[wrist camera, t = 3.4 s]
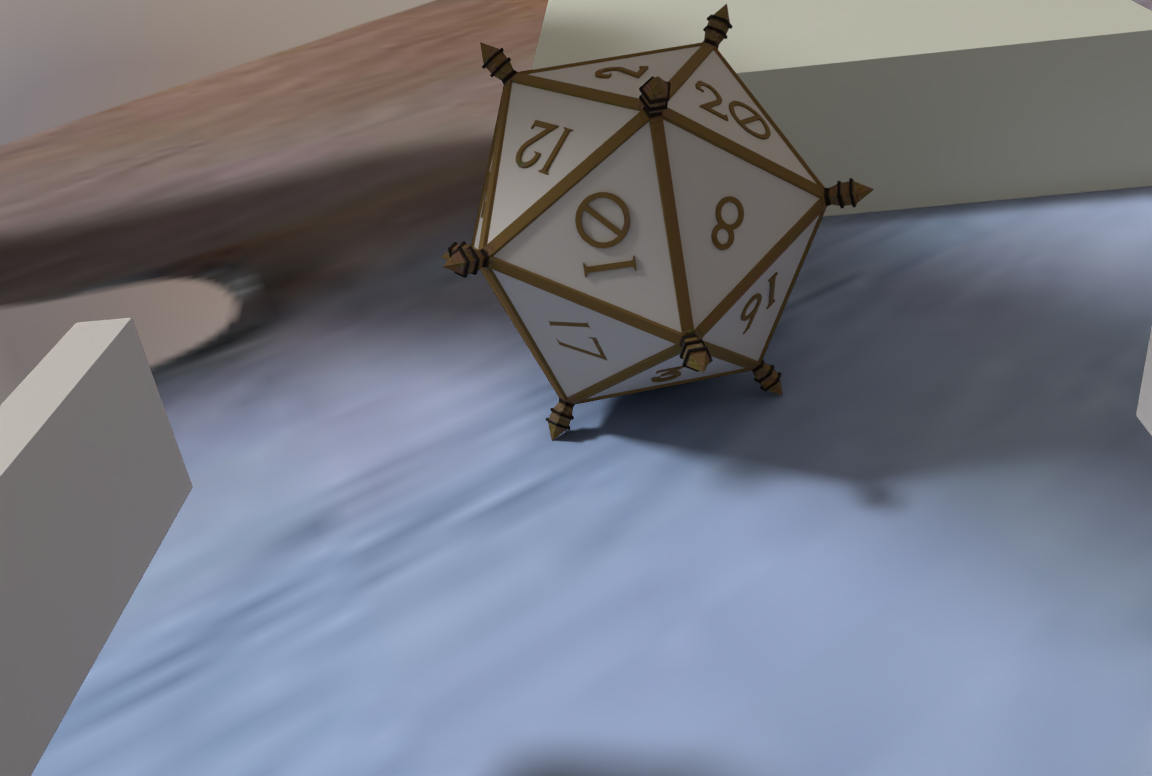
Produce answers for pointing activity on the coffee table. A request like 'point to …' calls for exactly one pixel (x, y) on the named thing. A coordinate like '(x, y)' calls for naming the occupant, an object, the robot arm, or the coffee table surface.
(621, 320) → the game die
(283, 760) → the coffee table surface
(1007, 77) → the base block
